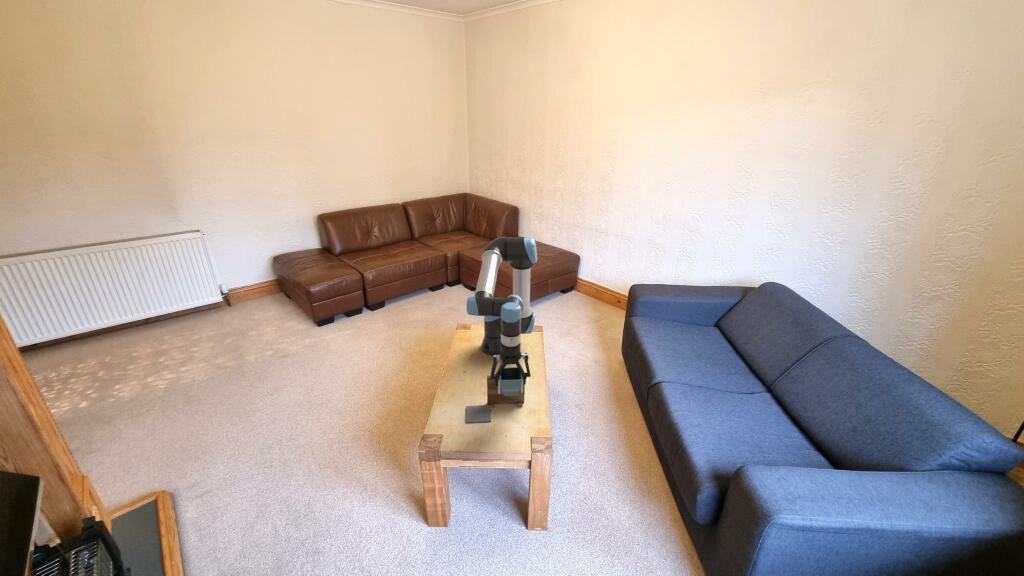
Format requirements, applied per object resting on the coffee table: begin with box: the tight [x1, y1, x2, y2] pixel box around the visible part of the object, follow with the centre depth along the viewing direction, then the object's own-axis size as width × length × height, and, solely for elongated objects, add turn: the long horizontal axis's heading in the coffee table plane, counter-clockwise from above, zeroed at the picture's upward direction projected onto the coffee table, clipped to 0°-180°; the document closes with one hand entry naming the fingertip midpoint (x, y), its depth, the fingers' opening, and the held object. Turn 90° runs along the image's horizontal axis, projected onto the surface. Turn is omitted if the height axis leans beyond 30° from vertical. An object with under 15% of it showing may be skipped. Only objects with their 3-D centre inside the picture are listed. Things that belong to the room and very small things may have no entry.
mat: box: [465, 404, 492, 424], centre depth 165 cm, size 10×10×1 cm
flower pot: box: [500, 366, 523, 396], centre depth 158 cm, size 9×9×9 cm
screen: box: [486, 375, 526, 409], centre depth 170 cm, size 6×16×14 cm, turn 95°
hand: (510, 391), depth 159 cm, fingers closed on flower pot, 8 cm apart
